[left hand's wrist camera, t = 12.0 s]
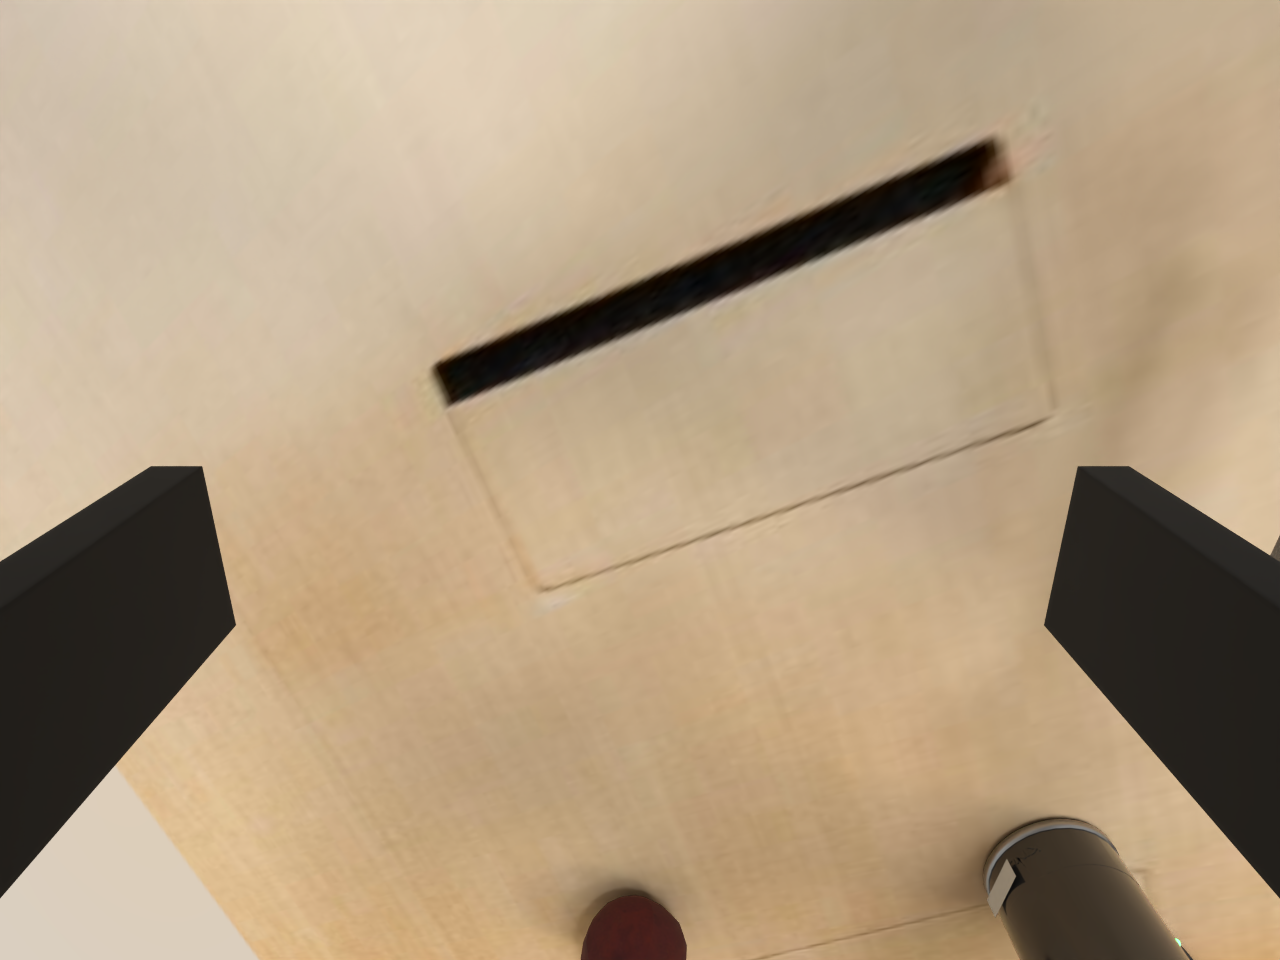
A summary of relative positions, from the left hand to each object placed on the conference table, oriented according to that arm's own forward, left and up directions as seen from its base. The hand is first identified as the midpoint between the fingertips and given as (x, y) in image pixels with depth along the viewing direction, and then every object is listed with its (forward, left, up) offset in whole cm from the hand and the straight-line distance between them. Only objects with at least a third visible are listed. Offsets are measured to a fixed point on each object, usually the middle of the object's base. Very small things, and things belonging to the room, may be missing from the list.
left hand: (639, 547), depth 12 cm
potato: (+45, +12, -33) cm, 57 cm away
